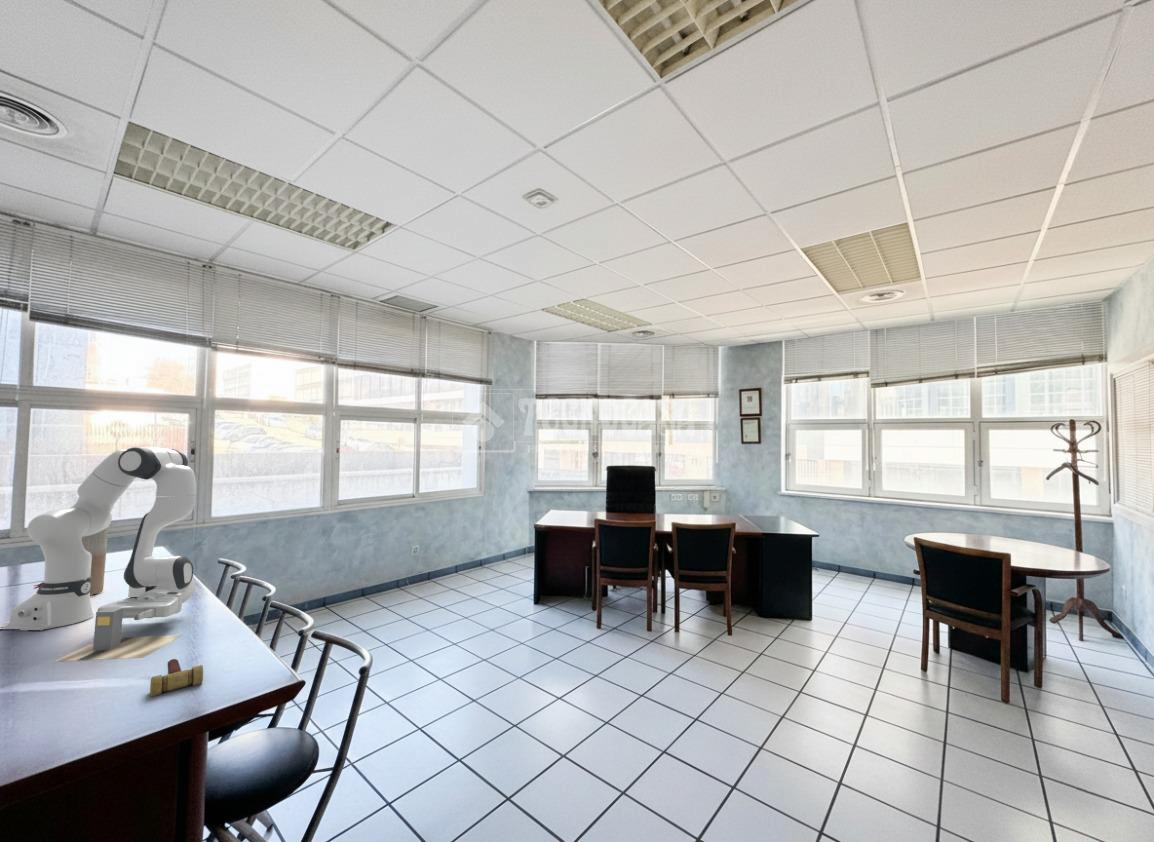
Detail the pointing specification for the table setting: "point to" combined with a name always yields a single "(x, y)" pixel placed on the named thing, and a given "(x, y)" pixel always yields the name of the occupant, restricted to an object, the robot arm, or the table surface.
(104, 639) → the tall grey pillar
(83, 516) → the robot arm
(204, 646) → the table surface
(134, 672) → the table surface
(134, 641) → the board
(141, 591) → the medicine bottle
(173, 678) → the gavel
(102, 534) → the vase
